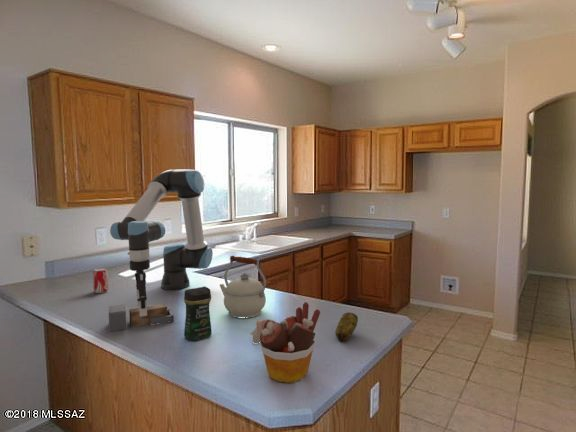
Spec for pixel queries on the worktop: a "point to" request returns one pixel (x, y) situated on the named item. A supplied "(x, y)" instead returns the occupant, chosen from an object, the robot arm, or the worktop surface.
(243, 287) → the kettle
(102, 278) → the soda can
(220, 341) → the worktop surface
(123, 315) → the roofed end cap
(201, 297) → the coffee jar
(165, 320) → the open end cap
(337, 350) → the worktop surface
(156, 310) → the walnut rail
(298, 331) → the bucket of meat
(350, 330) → the potato
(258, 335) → the architectural model
